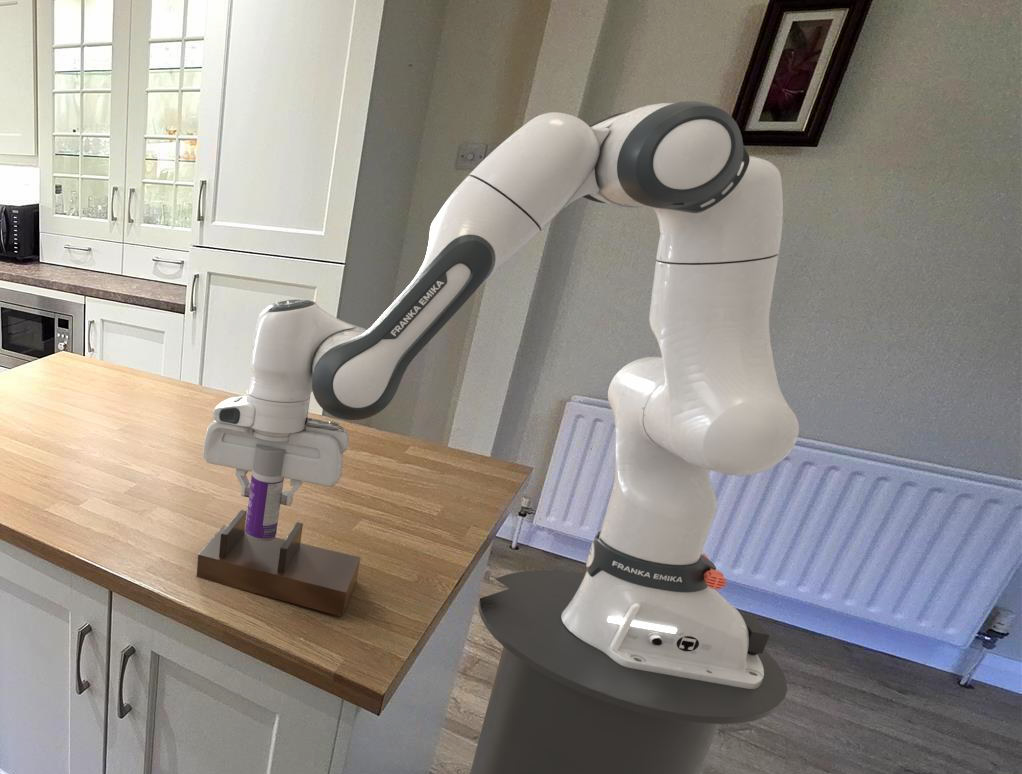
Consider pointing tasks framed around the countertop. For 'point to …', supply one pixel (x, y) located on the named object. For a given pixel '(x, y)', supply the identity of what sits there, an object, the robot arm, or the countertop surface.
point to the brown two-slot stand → (279, 567)
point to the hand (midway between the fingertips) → (266, 499)
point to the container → (265, 493)
